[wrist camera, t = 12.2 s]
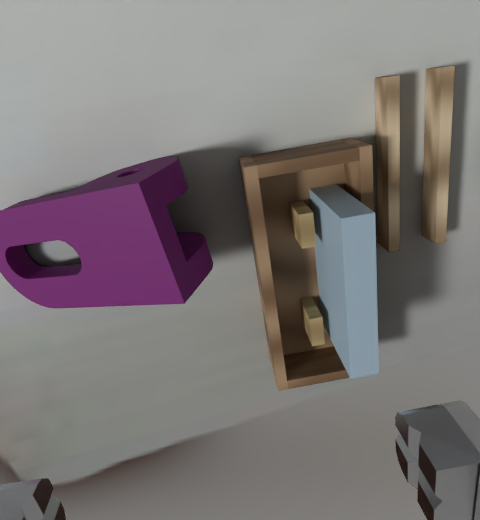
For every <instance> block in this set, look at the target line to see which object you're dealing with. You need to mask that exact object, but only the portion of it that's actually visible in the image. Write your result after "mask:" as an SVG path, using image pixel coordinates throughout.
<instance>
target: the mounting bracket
mask: <svg viewBox="0 0 480 520" xmlns="http://www.w3.org/2000/svg"><path fill="white" fill-rule="evenodd" d="M187 188H188V186H187V183H186V180H185V177H184V174H183V171H182V168H181V165H180V162H179V159H178V157H176V156H170V157H163V158H158V159H154V160H150V161H147V162H143V163H140V164H137V165H133V166H130V167H126V168H123V169H120V170H117V171H115V172H112V173H109V174H107V175H104V176H102V177H100V178H97V179H95V180H93V181H91V182H89V183H87V184H85V185H83V186H81V187H79V188H77V189H74V190H71V191H67V192H63V193H58V194H53V195H49V196H44V197H39V198H34V199H29V200H25V201H21V202H19V203H17V204H15V205H12V206H10V207H8V208H6V209H4V210H1V211H0V272H1V273H2V275H3V276H4V277H5V279H6V280H7V281H8V282H9V283H10V284H11V285H12V286H13V287H14V288H15V289H16V290H17V291H18V292H19V293H21V294H22V295H23V296H25V297H26V298H28V299H29V300H31V301H33V302H35V303H37V304H39V305H42V306H45V307H49V308H78V307H104V306H131V305H158V304H185V302H186V301H187V300H188V299H189V297H190V296H191V295H192V294H193V292H194V291H195V290H196V289H197V287H198V286H199V285H200V284H201V282H202V281H203V280H204V279H205V278H206V276H207V275H208V274H209V273H210V271H211V270H212V267H213V261H212V258H211V255H210V252H209V249H208V246H207V243H206V240H205V237H204V236H203V235H202V234H200V233H196V232H183V233H177V234H176V231H175V228H174V225H173V222H172V220H171V217H170V214H169V211H168V209H167V205H168V204H169V203H171V202H172V201H173V200H175V199H176V198H177V197H179V196H180V195H181V194H183V193H184V192H185V191H186V190H187ZM54 240H61V241H64V242H66V243H68V244H69V245H70V246H72V247H73V248H74V249H75V251H76V252H77V253H78V255H79V257H80V259H81V264H76V265H66V266H56V267H41V266H39V265H37V264H35V263H34V262H33V261H32V260H31V259H30V258H29V256H28V255H27V253H26V251H25V248H24V245H25V244H32V243H39V242H47V241H54Z"/></svg>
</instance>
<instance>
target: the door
mask: <svg viewBox="0 0 480 520" xmlns="http://www.w3.org/2000/svg"><path fill="white" fill-rule="evenodd" d="M309 190H310V201H311V210H312V212H313V216H314V227H315V239H316V246H315V257H316V268H317V279H318V291H319V302H320V313H321V315H322V317H323V326H324V328H325V330H326V332H327V334H328V335H329V337H330V339H331V341H332V343H333V345H334V347H335V349H336V351H337V353H338V355H339V357H340V359H341V361H342V363H343V365H344V367H345V369H346V371H347V373H348V375H349V377H350V379H352V378H357V377H363V376H368V375H374V374H379V356H378V313H377V269H376V226H375V212H374V211H372V210H371V209H370V208H368V207H367V206H365V205H364V204H363V203H361V202H360V201H358V200H357V199H356V198H354V197H353V196H351V195H350V194H349V193H347V192H346V191H345V190H343V189H342V188H340V187H339V186H338V185H336V184H334V185H328V186H323V187H317V188H311V189H309Z"/></svg>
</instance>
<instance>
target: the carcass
mask: <svg viewBox="0 0 480 520" xmlns="http://www.w3.org/2000/svg"><path fill="white" fill-rule="evenodd" d="M239 163H240V169H241V175H242V182H243V188H244V194H245V201H246V207H247V214H248V220H249V226H250V233H251V239H252V245H253V252H254V258H255V264H256V271H257V277H258V284H259V290H260V296H261V303H262V309H263V315H264V322H265V328H266V334H267V341H268V347H269V353H270V360H271V364H272V368H273V372H274V376H275V380H276V384H277V388H278V391H280V390H285V389H291V388H296V387H302V386H307V385H312V384H318V383H323V382H329V381H334V380H339V379H345V378H350V377H349V375H348V373H347V371H346V369H345V367H344V365H343V363H342V361H341V359H340V357H339V355H338V353H337V351H336V349H335V347H334V345H333V343H332V341H331V339H330V337H329V335H328V334H327V332H326V330H325V328H324V326H323V317H322V315H321V313H320V302H319V291H318V279H317V268H316V257H315V246H316V239H315V227H314V216H313V212H312V210H311V201H310V190H309V189H311V188H317V187H323V186H328V185H334V184H336V185H338V186H339V187H340V188H342V189H343V190H345V191H346V192H347V193H349V194H350V195H351V196H353V197H354V198H356V199H357V200H358V201H360V202H361V203H363V204H364V205H365V206H367V207H368V208H370V209H371V210H372V211H374V196H373V157H372V145H370V144H367V143H364V142H361V141H358V140H355V139H352V138H347V139H341V140H336V141H330V142H324V143H319V144H313V145H307V146H302V147H296V148H290V149H284V150H279V151H273V152H267V153H262V154H256V155H250V156H245V157H239Z"/></svg>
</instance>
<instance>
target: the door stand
mask: <svg viewBox="0 0 480 520" xmlns="http://www.w3.org/2000/svg"><path fill="white" fill-rule="evenodd" d="M454 72H455V66H444V67H436V68H430V69H426V94H425V133H424V173H423V213H422V235H423V236H424V237H425V238H427V239H428V240H430V241H431V242H433V243H434V244H438V243H444V242H446V229H447V209H448V189H449V170H450V150H451V131H452V111H453V91H454ZM375 113H376V159H377V206H378V243H379V244H380V245H381V246H382V247H383V248H385V249H386V250H387V251H388V252H394V251H400V75H394V76H384V77H378V78H375Z"/></svg>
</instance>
